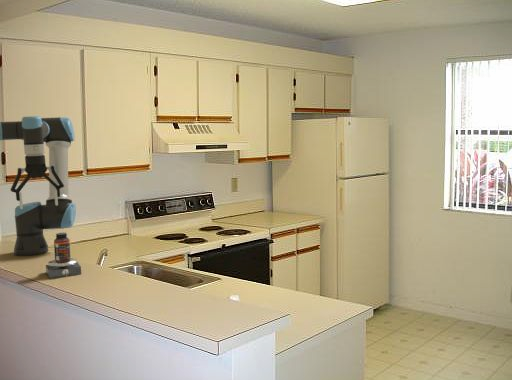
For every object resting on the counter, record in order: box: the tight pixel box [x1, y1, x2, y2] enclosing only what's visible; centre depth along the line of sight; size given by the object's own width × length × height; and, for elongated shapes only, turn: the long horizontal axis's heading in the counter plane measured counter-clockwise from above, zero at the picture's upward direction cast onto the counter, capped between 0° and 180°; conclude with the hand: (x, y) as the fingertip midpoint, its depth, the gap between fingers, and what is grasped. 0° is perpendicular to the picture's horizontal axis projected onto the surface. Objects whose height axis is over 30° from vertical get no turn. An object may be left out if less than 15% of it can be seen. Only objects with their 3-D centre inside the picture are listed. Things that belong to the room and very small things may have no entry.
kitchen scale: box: [45, 257, 82, 279], centre depth 229 cm, size 12×12×5 cm
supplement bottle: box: [53, 232, 72, 263], centre depth 228 cm, size 6×6×11 cm
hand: (39, 206), depth 235 cm, fingers open, 13 cm apart
